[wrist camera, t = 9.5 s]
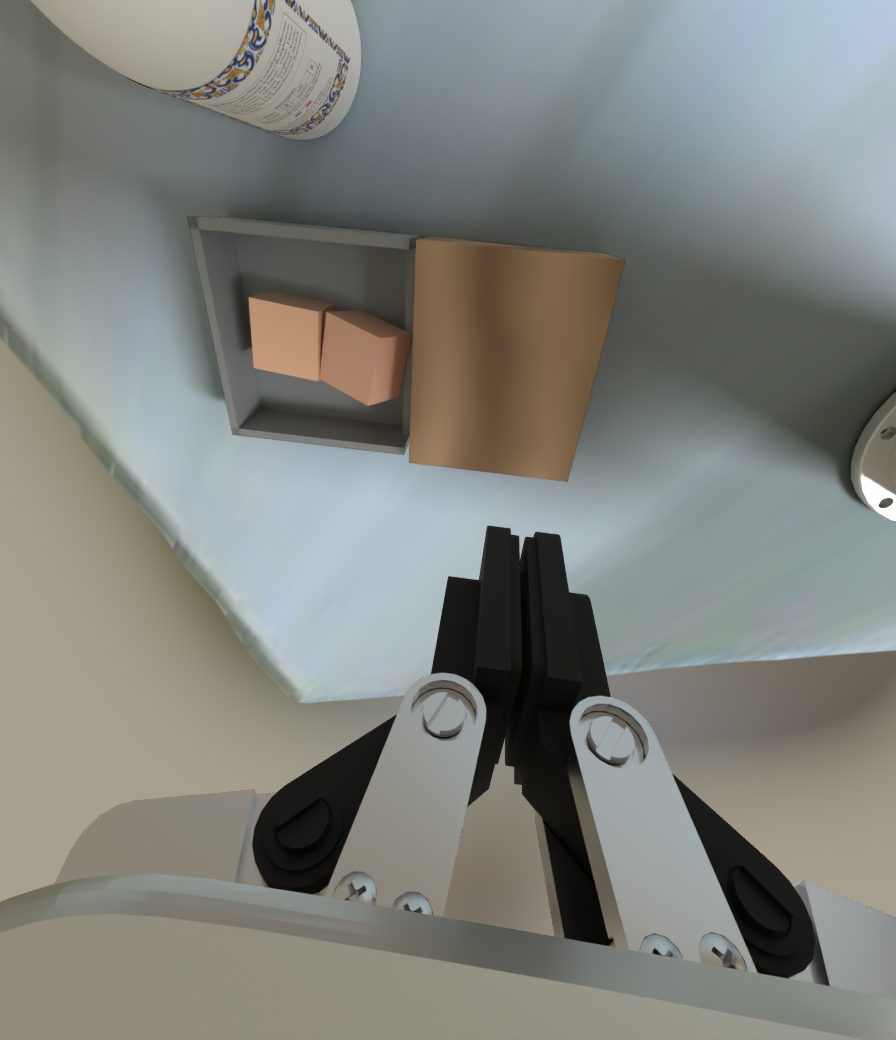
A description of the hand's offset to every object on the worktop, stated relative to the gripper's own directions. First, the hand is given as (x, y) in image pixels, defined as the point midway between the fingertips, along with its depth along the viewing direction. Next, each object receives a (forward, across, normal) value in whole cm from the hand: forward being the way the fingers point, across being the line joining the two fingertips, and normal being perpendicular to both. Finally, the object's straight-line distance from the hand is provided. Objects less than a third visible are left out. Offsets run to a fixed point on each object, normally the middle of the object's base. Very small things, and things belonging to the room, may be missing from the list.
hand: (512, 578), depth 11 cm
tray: (+22, +12, 0) cm, 25 cm away
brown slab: (+22, +1, 0) cm, 22 cm away
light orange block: (+18, +14, 0) cm, 23 cm away
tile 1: (+20, +8, 0) cm, 22 cm away
